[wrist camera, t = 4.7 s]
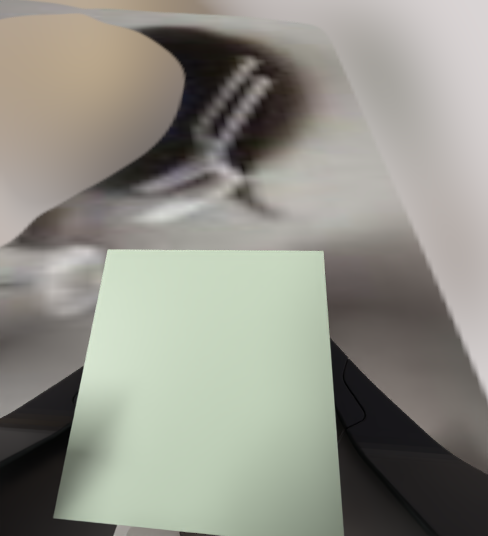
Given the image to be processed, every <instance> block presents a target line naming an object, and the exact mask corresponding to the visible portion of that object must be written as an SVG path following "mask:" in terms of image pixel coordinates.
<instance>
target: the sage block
mask: <svg viewBox="0 0 488 536" xmlns="http://www.w3.org/2000/svg"><path fill="white" fill-rule="evenodd" d="M53 518H57V519H66V520H76V521H86V522H95V523H105V524H115V525H124V526H134V527H143V528H153V529H163V530H172V531H182V532H192V533H201V534H211V535H221V536H344V528H343V514H342V500H341V487H340V473H339V459H338V446H337V432H336V418H335V404H334V391H333V377H332V363H331V349H330V336H329V322H328V308H327V295H326V281H325V267H324V253H323V251H240V250H108V251H107V256H106V261H105V266H104V271H103V276H102V281H101V286H100V290H99V295H98V300H97V305H96V310H95V315H94V320H93V325H92V330H91V335H90V339H89V344H88V349H87V354H86V359H85V364H84V369H83V374H82V379H81V384H80V389H79V393H78V398H77V403H76V408H75V413H74V418H73V423H72V428H71V433H70V438H69V442H68V447H67V452H66V457H65V462H64V467H63V472H62V477H61V482H60V487H59V492H58V496H57V501H56V506H55V511H54V516H53Z"/></svg>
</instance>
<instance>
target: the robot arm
mask: <svg viewBox="0 0 488 536" xmlns="http://www.w3.org/2000/svg"><path fill="white" fill-rule="evenodd" d="M330 349H331V363H332V377H333V391H334V404H335V418H336V432H337V446H338V459H339V473H340V487H341V500H342V514H343V528H344V536H488V475H487V474H486V473H484V472H482V471H480V470H478V469H476V468H475V467H473V466H471V465H469V464H467V463H466V462H464V461H462V460H461V459H459V458H458V457H456V456H455V455H453V454H452V453H450V452H449V451H448V450H446V449H445V448H444V447H442V446H441V445H440V444H439V443H437V442H436V441H435V440H434V439H433V438H431V437H430V436H429V435H428V434H427V433H426V432H425V431H424V430H423V429H421V428H420V427H419V426H418V425H417V424H416V423H415V422H414V421H413V420H412V419H411V418H410V417H408V416H407V415H406V414H405V413H404V412H403V411H402V410H401V409H400V408H399V407H398V406H397V405H395V404H394V403H393V402H392V401H391V400H390V399H389V398H388V397H387V396H386V395H385V394H384V393H383V392H382V391H381V390H379V389H378V388H377V387H376V386H375V385H374V384H373V383H372V382H371V381H370V380H369V379H368V378H367V377H366V376H365V375H364V374H363V373H362V372H361V371H360V370H359V369H358V367H357V366H356V365H355V364H354V363H353V362H352V361H351V360H350V359H348V357H347V356H346V355H345V354H344V352H343V351H342V350H341V349H340V348H339V347H338V346H337V345H336V344H335V343H334V342H333V341H332V339H331V338H330ZM83 369H84V366H83V367H81V368H80V369H78V370H77V371H75V372H74V373H72V374H71V375H69V376H68V377H66V378H65V379H63V380H61V381H60V382H58V383H57V384H55V385H54V386H52V387H51V388H49V389H48V390H46V391H44V392H43V393H41V394H40V395H38V396H37V397H35V398H34V399H32V400H31V401H29V402H27V403H26V404H24V405H23V406H21V407H20V408H18V409H16V410H15V411H13V412H11V413H10V414H8V415H6V416H4V417H2V418H0V536H113V535H114V533H115V530H116V527H117V525H115V524H105V523H95V522H86V521H76V520H66V519H57V518H53V516H54V511H55V506H56V501H57V496H58V492H59V487H60V482H61V477H62V472H63V467H64V462H65V457H66V452H67V447H68V442H69V438H70V433H71V428H72V423H73V418H74V413H75V408H76V403H77V398H78V393H79V389H80V384H81V379H82V374H83Z"/></svg>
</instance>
